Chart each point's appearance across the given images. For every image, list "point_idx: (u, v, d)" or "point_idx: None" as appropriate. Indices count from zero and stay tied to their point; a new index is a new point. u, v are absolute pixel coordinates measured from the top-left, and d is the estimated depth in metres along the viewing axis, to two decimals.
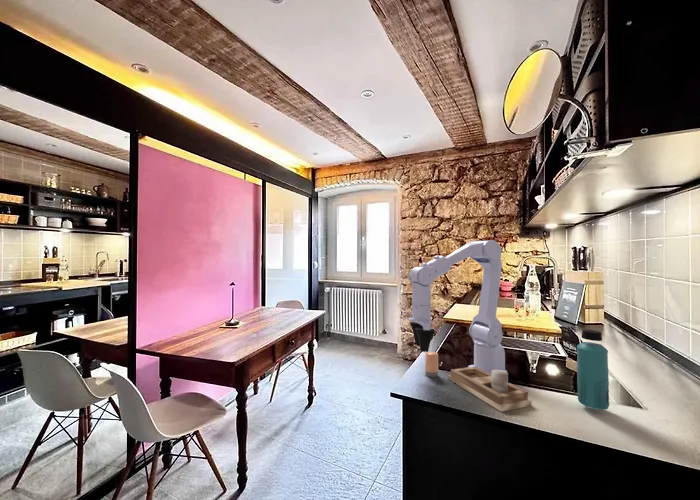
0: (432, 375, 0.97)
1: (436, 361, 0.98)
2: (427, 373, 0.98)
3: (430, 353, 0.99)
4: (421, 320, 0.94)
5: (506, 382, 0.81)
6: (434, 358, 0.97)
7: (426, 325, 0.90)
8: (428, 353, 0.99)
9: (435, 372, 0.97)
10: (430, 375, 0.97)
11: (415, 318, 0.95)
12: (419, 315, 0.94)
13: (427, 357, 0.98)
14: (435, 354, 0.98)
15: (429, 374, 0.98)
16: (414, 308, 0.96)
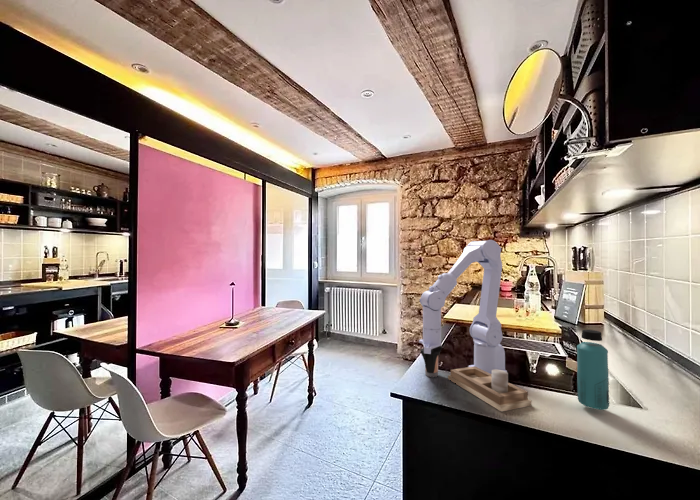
0: (432, 375, 0.97)
1: (436, 360, 0.98)
2: (427, 373, 0.98)
3: None
4: (427, 343, 0.97)
5: (506, 382, 0.81)
6: None
7: (426, 349, 0.93)
8: None
9: (435, 372, 0.97)
10: (430, 375, 0.97)
11: (423, 340, 0.99)
12: (426, 338, 0.98)
13: None
14: None
15: (429, 374, 0.98)
16: (423, 331, 0.99)
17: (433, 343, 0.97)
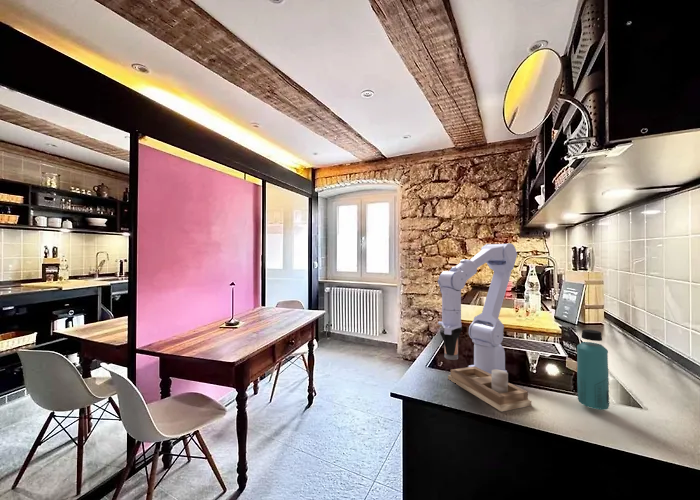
0: (452, 357, 0.94)
1: (456, 342, 0.95)
2: (446, 355, 0.95)
3: None
4: (447, 324, 0.94)
5: (506, 382, 0.81)
6: None
7: (446, 329, 0.90)
8: None
9: (455, 354, 0.94)
10: (450, 357, 0.94)
11: (443, 322, 0.96)
12: (445, 320, 0.95)
13: None
14: None
15: (449, 356, 0.95)
16: (442, 312, 0.96)
17: (453, 324, 0.93)
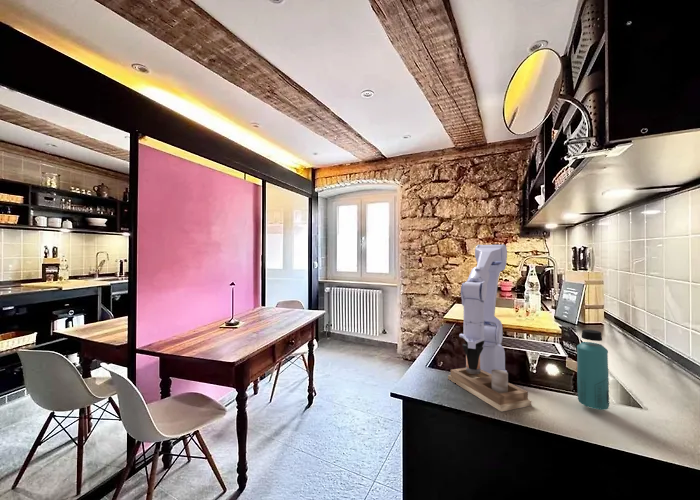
0: (474, 372, 0.90)
1: (479, 356, 0.91)
2: (469, 370, 0.91)
3: None
4: (470, 337, 0.90)
5: (506, 382, 0.81)
6: None
7: (470, 343, 0.86)
8: None
9: (477, 368, 0.91)
10: (472, 372, 0.91)
11: (465, 335, 0.92)
12: (468, 332, 0.91)
13: None
14: None
15: (471, 371, 0.91)
16: (464, 324, 0.93)
17: (476, 337, 0.90)
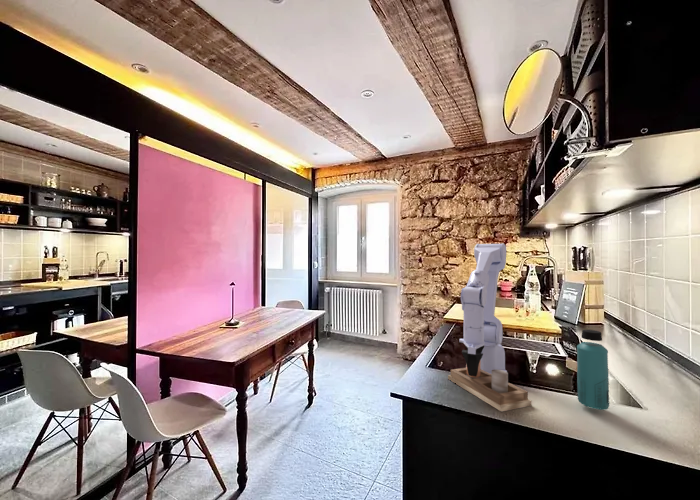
0: None
1: (479, 365, 0.91)
2: None
3: None
4: (470, 343, 0.90)
5: (506, 382, 0.81)
6: None
7: (470, 349, 0.86)
8: None
9: (478, 377, 0.91)
10: None
11: (465, 340, 0.92)
12: (468, 337, 0.91)
13: None
14: None
15: None
16: (464, 329, 0.93)
17: (476, 342, 0.90)
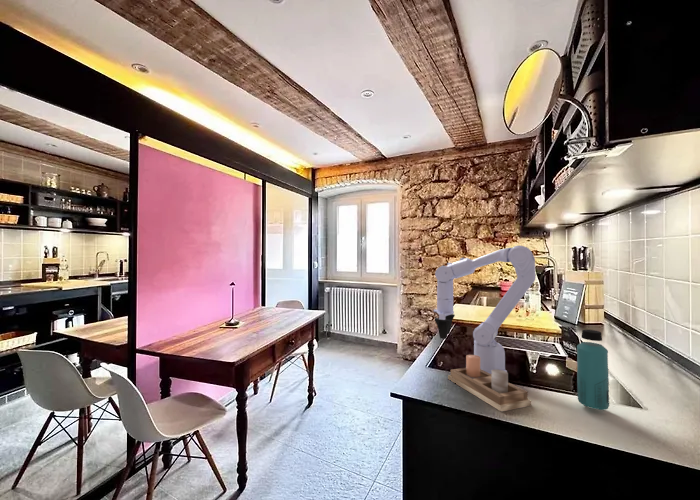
0: None
1: (479, 365, 0.91)
2: None
3: (471, 356, 0.93)
4: (442, 311, 1.10)
5: (506, 382, 0.81)
6: (477, 362, 0.91)
7: (441, 315, 1.05)
8: (469, 356, 0.92)
9: (478, 377, 0.91)
10: None
11: (437, 309, 1.11)
12: (440, 307, 1.10)
13: (468, 361, 0.92)
14: (477, 358, 0.92)
15: None
16: (437, 301, 1.12)
17: (447, 311, 1.09)
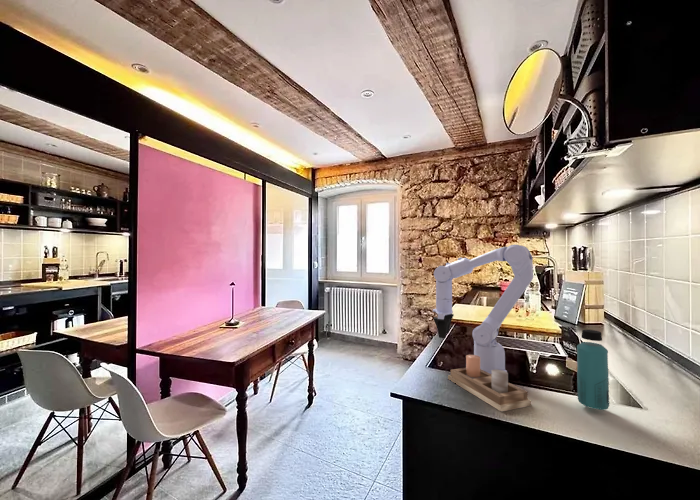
0: None
1: (479, 365, 0.91)
2: None
3: (471, 356, 0.93)
4: (440, 311, 1.11)
5: (506, 382, 0.81)
6: (477, 362, 0.91)
7: (440, 315, 1.06)
8: (469, 356, 0.93)
9: (477, 377, 0.91)
10: None
11: (436, 309, 1.12)
12: (439, 307, 1.11)
13: (468, 361, 0.92)
14: (477, 357, 0.92)
15: None
16: (436, 301, 1.13)
17: (445, 311, 1.10)
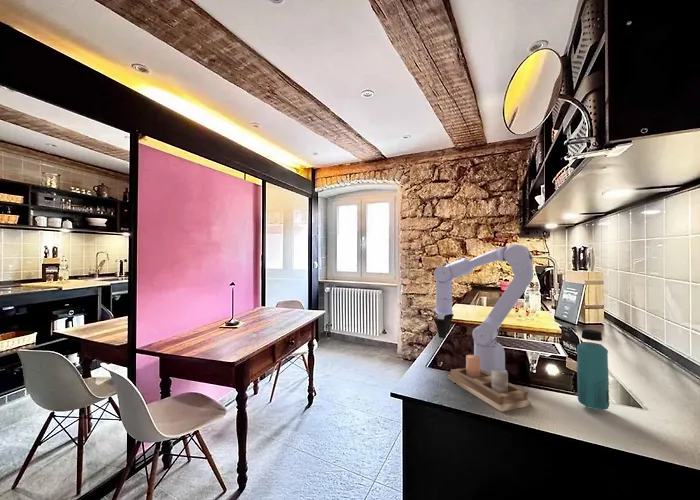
0: None
1: (479, 364, 0.91)
2: None
3: (471, 356, 0.93)
4: (440, 311, 1.11)
5: (506, 382, 0.81)
6: (477, 361, 0.91)
7: (440, 315, 1.06)
8: (469, 356, 0.93)
9: (477, 377, 0.91)
10: None
11: (436, 309, 1.12)
12: (439, 307, 1.11)
13: (468, 361, 0.92)
14: (477, 357, 0.92)
15: None
16: (436, 301, 1.13)
17: (445, 311, 1.10)
